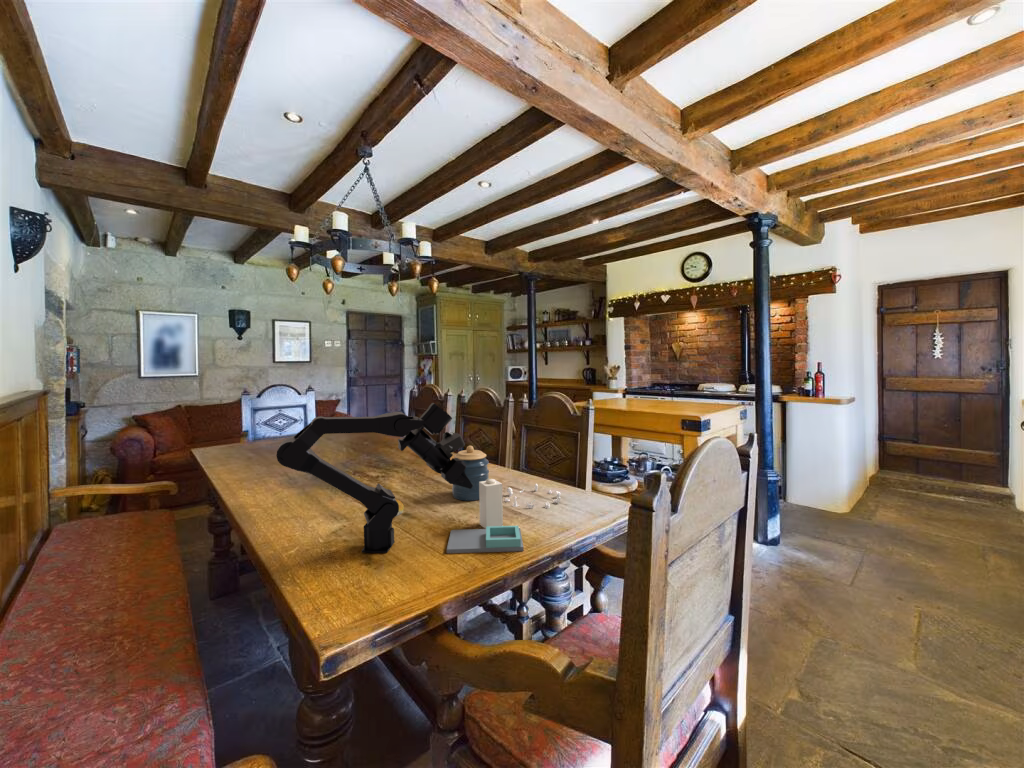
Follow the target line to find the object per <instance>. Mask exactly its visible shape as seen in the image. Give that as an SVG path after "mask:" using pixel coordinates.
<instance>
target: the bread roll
mask: <svg viewBox="0 0 1024 768" xmlns="http://www.w3.org/2000/svg"><path fill="white" fill-rule="evenodd" d="M396 501H397V503H398V505H399V512H398V514H397V515H396V516H395V517H398V516H400V515H402V514H403V512H404V511H405V510H404V509H405V507H404V506H405V505H404V504H403V502H402V501H401V500H399V499H396Z"/></svg>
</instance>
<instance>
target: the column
mask: <svg viewBox="0 0 1024 768" xmlns="http://www.w3.org/2000/svg"><path fill="white" fill-rule="evenodd" d="M478 501H479V503H478V504H479V525H480V526H481V527H482V528H483V529H486V526H504V525H503V524H504V521H503V520H504V519H503V517H504V516H503V514H504V512H503V507H504V506H503V483H502V482H500V481H498V480H497V479H495V478H489V479H487V480H486V481H481V482H479V500H478Z"/></svg>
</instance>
